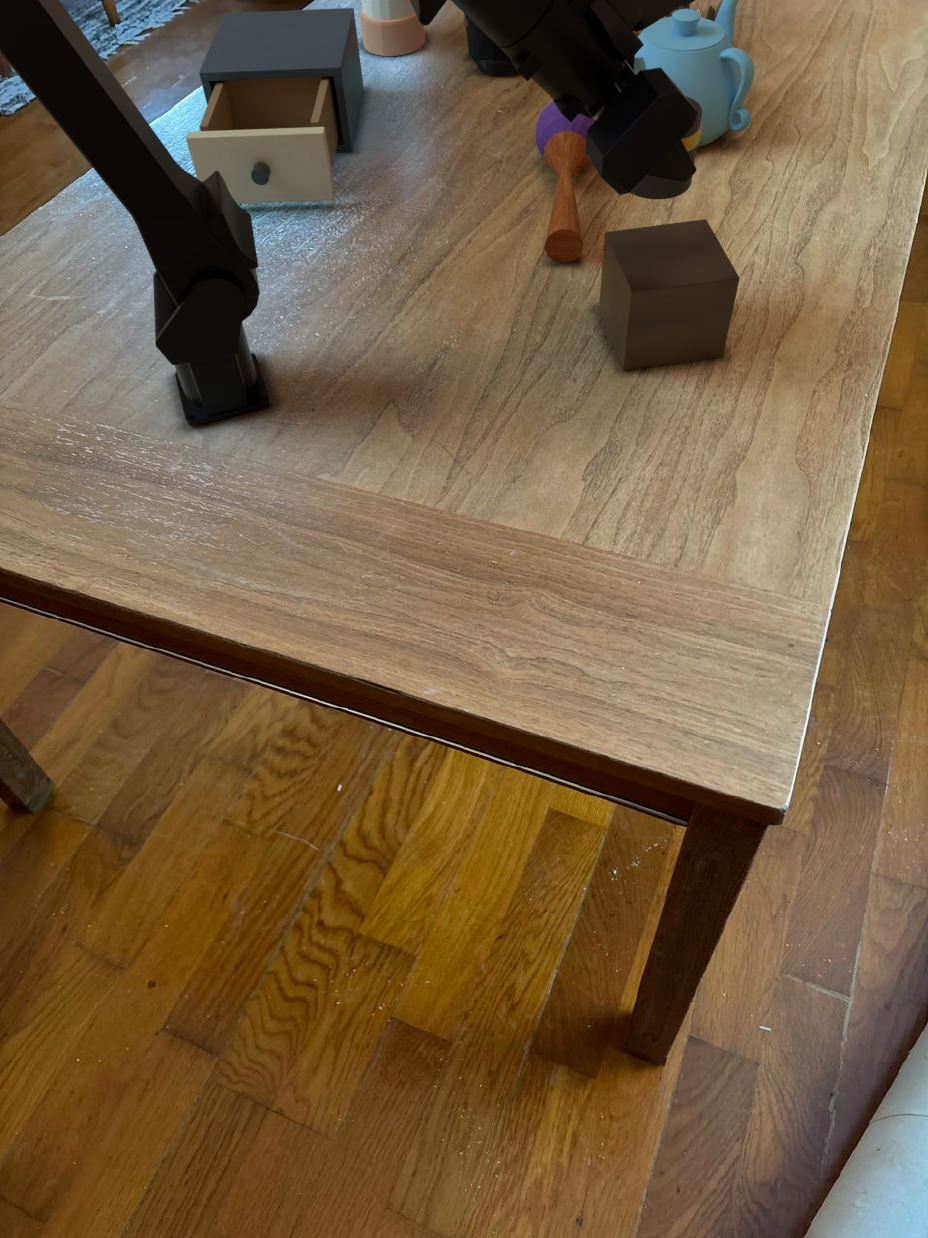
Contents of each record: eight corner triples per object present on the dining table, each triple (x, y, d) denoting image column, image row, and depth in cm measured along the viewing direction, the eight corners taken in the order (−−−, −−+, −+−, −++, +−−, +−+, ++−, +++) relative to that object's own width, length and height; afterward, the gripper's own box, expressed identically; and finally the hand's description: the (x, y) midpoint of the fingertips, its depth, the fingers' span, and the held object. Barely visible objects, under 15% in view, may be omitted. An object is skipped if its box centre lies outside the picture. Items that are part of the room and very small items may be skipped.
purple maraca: (523, 221, 79) (531, 90, 89) (535, 279, 84) (542, 149, 94) (594, 209, 77) (594, 77, 88) (602, 269, 82) (601, 138, 93)
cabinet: (352, 152, 95) (340, 66, 88) (220, 156, 96) (198, 72, 89) (363, 89, 103) (353, 7, 97) (242, 94, 104) (223, 12, 97)
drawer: (333, 207, 87) (321, 139, 82) (201, 211, 88) (182, 144, 83) (347, 134, 95) (337, 68, 90) (227, 139, 96) (210, 73, 91)
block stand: (723, 357, 73) (740, 277, 68) (623, 371, 73) (631, 292, 67) (692, 297, 78) (706, 218, 72) (598, 310, 77) (604, 231, 72)
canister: (706, 189, 66) (718, 117, 62) (641, 207, 65) (649, 134, 61) (669, 156, 69) (678, 85, 65) (606, 172, 68) (612, 101, 64)
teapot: (761, 156, 91) (785, 41, 83) (606, 168, 91) (616, 53, 83) (725, 87, 100) (744, -24, 91) (585, 97, 100) (591, -12, 91)
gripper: (687, -70, 47) (834, 123, 57) (579, -174, 58) (718, 3, 68) (532, 115, 52) (690, 262, 62) (461, -12, 63) (605, 130, 73)
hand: (677, 156), depth 66 cm, fingers closed on canister, 5 cm apart
